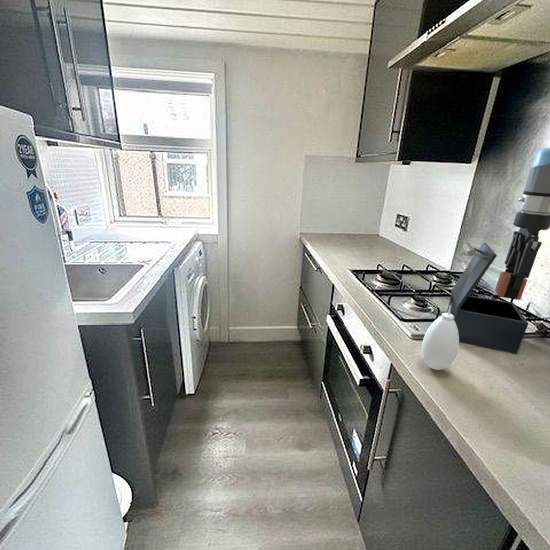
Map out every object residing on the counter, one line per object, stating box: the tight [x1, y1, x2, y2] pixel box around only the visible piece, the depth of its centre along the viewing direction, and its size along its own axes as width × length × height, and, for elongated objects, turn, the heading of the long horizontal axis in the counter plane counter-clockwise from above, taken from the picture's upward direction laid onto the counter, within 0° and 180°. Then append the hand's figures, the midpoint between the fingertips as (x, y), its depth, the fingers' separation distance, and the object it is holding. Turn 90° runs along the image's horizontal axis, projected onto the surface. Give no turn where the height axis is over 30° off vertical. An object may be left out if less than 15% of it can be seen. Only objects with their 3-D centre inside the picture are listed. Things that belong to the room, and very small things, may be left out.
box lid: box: [451, 241, 498, 309], centre depth 89 cm, size 18×14×6 cm
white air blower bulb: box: [421, 305, 460, 371], centre depth 74 cm, size 8×8×18 cm
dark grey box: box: [446, 294, 529, 355], centre depth 91 cm, size 17×14×10 cm
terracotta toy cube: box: [494, 271, 528, 301], centre depth 85 cm, size 5×5×6 cm
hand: (507, 294), depth 86 cm, fingers closed on terracotta toy cube, 5 cm apart
